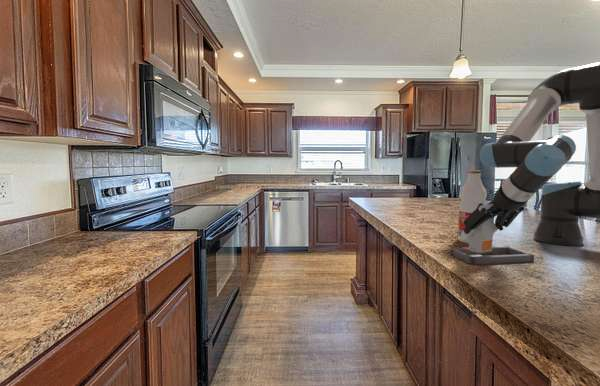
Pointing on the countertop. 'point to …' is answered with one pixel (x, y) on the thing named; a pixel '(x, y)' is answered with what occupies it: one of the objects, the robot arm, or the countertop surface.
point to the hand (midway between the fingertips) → (473, 237)
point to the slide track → (479, 259)
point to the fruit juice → (470, 198)
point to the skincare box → (482, 237)
